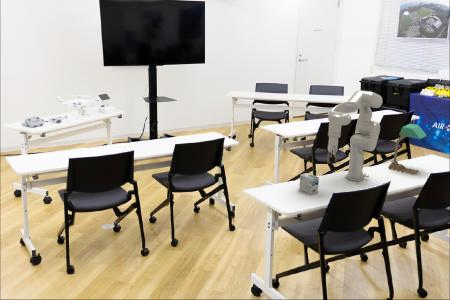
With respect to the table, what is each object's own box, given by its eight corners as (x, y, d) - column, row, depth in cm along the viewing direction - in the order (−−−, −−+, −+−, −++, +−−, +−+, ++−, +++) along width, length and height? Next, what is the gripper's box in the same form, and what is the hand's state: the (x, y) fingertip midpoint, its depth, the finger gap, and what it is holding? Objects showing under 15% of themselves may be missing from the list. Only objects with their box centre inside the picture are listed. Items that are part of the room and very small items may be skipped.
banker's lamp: (393, 165, 351) (400, 121, 341) (421, 171, 338) (428, 126, 328) (386, 170, 339) (392, 124, 329) (414, 176, 326) (421, 129, 316)
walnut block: (335, 161, 288) (335, 153, 287) (336, 163, 284) (336, 156, 282) (327, 160, 289) (327, 153, 288) (328, 163, 284) (328, 155, 283)
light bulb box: (318, 192, 291) (319, 176, 288) (311, 194, 286) (312, 179, 283) (305, 187, 298) (306, 172, 295) (298, 189, 294) (299, 174, 291)
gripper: (327, 130, 290) (324, 157, 295) (329, 137, 273) (326, 165, 279) (338, 131, 289) (336, 158, 294) (342, 137, 273) (339, 166, 278)
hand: (331, 161), depth 286 cm, fingers closed on walnut block, 4 cm apart
